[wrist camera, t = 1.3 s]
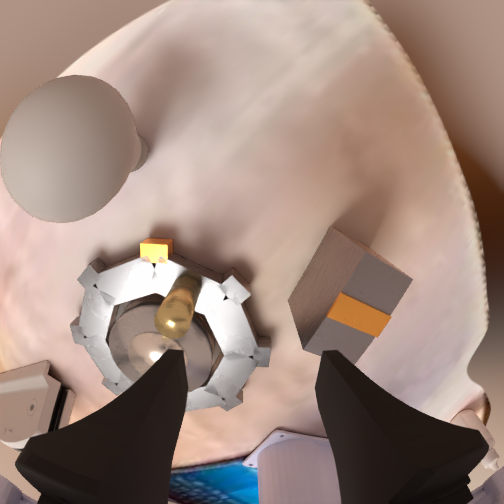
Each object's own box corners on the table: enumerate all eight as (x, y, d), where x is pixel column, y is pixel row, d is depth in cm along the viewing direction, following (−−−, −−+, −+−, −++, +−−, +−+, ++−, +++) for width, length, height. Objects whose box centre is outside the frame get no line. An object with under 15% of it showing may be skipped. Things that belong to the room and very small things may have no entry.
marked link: (369, 248, 19) (414, 280, 13) (327, 317, 20) (354, 368, 14) (329, 225, 18) (366, 252, 12) (287, 300, 20) (303, 351, 14)
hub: (230, 320, 20) (228, 342, 17) (194, 386, 22) (190, 409, 19) (134, 276, 19) (120, 292, 16) (113, 349, 21) (101, 369, 18)
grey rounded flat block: (49, 359, 21) (29, 445, 13) (79, 383, 24) (68, 463, 16) (-7, 375, 23) (-23, 433, 15) (16, 393, 26) (4, 449, 18)
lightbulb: (157, 212, 18) (61, 270, 7) (85, 181, 17) (-35, 205, 6) (194, 125, 16) (125, 70, 6) (116, 99, 15) (6, 53, 5)
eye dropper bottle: (471, 400, 26) (510, 453, 14) (474, 413, 27) (507, 461, 16) (448, 420, 26) (483, 477, 15) (452, 431, 28) (483, 482, 16)
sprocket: (303, 299, 20) (323, 346, 14) (218, 424, 23) (214, 471, 18) (104, 206, 17) (56, 223, 12) (72, 359, 21) (43, 397, 15)
